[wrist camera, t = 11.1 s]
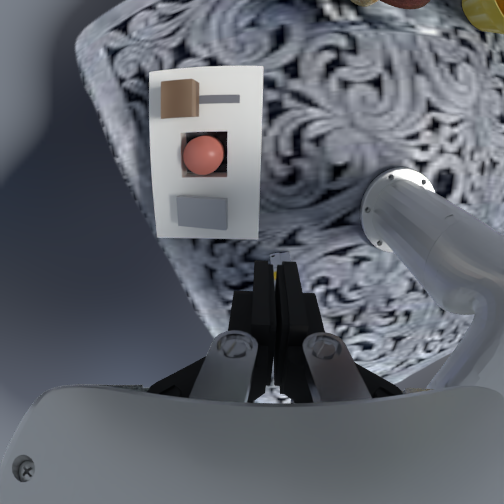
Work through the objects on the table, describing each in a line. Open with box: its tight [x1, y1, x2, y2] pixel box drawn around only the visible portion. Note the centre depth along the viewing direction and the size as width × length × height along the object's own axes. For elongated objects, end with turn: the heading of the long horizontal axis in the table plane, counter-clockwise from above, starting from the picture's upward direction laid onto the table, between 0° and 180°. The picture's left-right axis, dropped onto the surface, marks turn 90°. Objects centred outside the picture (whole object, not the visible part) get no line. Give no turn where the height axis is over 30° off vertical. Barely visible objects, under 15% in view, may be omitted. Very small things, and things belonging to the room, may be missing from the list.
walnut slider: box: [161, 79, 199, 119], centre depth 27 cm, size 3×4×4 cm
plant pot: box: [462, 0, 504, 34], centre depth 17 cm, size 10×10×10 cm
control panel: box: [149, 66, 263, 240], centre depth 33 cm, size 13×21×4 cm, turn 179°
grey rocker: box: [176, 195, 228, 231], centre depth 33 cm, size 6×4×1 cm, turn 89°
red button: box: [183, 135, 225, 175], centre depth 32 cm, size 4×4×3 cm
